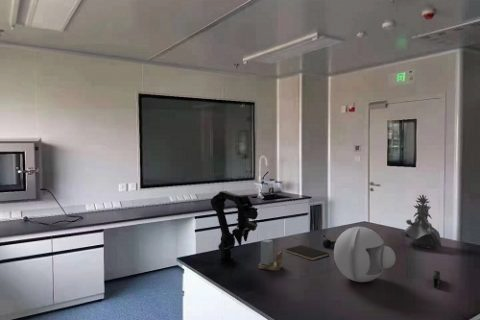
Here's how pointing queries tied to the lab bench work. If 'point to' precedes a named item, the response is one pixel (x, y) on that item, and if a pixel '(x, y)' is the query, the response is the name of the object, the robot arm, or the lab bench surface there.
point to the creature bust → (422, 227)
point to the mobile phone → (436, 279)
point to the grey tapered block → (266, 251)
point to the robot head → (362, 254)
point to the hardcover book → (307, 252)
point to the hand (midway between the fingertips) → (242, 243)
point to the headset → (329, 243)
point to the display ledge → (274, 265)
